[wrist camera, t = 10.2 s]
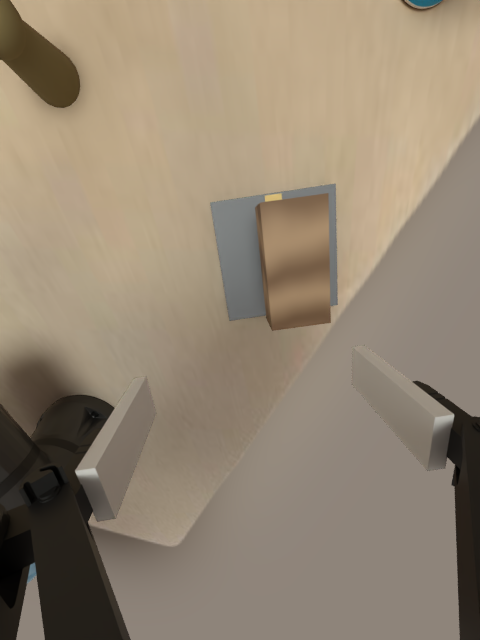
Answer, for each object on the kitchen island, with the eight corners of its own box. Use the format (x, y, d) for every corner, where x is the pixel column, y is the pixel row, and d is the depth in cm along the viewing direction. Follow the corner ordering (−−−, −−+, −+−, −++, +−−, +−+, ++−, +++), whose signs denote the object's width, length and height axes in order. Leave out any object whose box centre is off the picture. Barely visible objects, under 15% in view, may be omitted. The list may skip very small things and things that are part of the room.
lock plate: (334, 302, 43) (356, 317, 36) (229, 317, 43) (229, 335, 36) (331, 185, 37) (357, 173, 30) (210, 203, 38) (206, 196, 30)
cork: (79, 113, 33) (12, 58, 23) (31, 100, 33) (-61, 38, 22) (80, 55, 32) (7, -32, 21) (28, 41, 31) (-73, -56, 21)
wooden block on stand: (250, 212, 37) (259, 202, 26) (298, 205, 37) (328, 193, 26) (260, 304, 41) (272, 330, 30) (303, 298, 41) (330, 322, 30)
